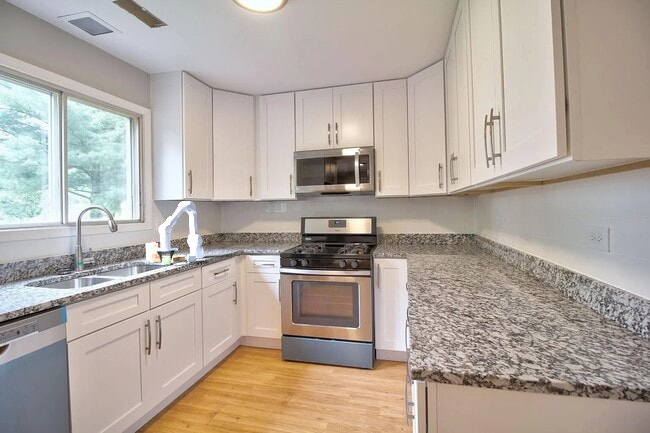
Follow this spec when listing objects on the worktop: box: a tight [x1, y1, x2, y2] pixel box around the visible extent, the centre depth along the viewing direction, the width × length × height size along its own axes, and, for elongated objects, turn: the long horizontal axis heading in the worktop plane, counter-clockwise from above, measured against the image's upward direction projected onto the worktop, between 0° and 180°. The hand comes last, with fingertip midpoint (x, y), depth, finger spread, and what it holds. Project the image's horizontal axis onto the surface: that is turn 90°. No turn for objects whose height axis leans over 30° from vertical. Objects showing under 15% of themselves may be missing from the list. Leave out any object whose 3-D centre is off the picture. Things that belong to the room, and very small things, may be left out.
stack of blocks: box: [145, 242, 161, 263], centre depth 218 cm, size 21×6×12 cm, turn 40°
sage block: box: [161, 255, 172, 266], centre depth 203 cm, size 5×5×5 cm
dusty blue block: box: [186, 254, 197, 263], centre depth 211 cm, size 5×5×5 cm
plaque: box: [172, 261, 190, 267], centre depth 201 cm, size 9×9×1 cm
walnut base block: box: [171, 254, 186, 264], centre depth 214 cm, size 8×8×4 cm
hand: (166, 262), depth 203 cm, fingers closed on sage block, 5 cm apart
